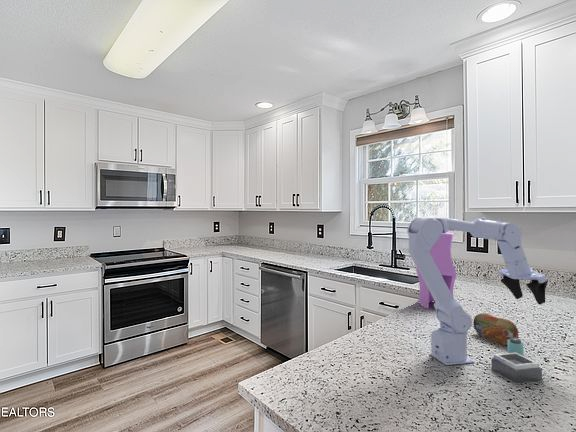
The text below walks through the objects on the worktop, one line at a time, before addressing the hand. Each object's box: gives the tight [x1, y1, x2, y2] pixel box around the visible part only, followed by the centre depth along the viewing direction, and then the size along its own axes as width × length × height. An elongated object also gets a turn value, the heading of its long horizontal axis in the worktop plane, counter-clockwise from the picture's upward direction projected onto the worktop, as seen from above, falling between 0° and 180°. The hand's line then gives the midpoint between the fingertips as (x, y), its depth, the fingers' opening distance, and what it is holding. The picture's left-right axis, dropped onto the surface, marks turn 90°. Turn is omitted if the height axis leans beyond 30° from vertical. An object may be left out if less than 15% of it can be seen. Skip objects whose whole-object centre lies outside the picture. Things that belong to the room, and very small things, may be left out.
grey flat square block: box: [491, 352, 543, 384], centre depth 89 cm, size 8×8×4 cm
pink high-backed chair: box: [415, 232, 457, 309], centre depth 157 cm, size 14×14×35 cm
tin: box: [472, 313, 519, 346], centre depth 113 cm, size 15×3×8 cm, turn 21°
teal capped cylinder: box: [506, 337, 525, 357], centre depth 98 cm, size 4×4×6 cm
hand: (530, 300), depth 100 cm, fingers open, 7 cm apart
